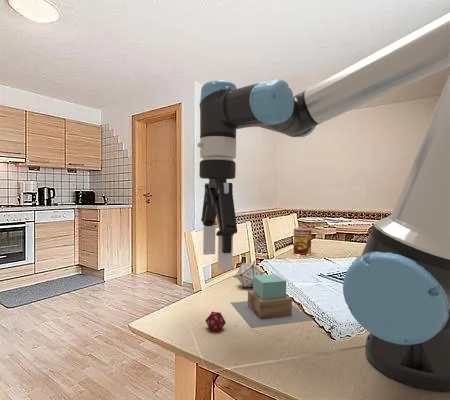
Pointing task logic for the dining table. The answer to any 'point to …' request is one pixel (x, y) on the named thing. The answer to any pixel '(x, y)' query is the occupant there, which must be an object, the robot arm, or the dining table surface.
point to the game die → (247, 274)
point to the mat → (256, 322)
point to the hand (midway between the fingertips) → (216, 261)
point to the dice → (215, 321)
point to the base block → (269, 306)
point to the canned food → (302, 241)
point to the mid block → (269, 286)
